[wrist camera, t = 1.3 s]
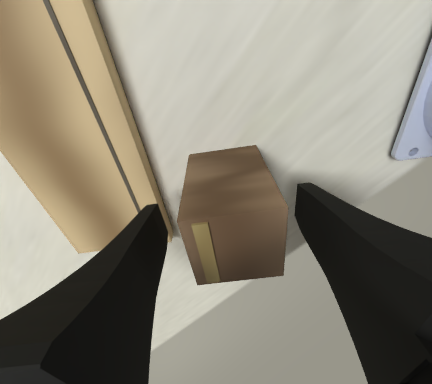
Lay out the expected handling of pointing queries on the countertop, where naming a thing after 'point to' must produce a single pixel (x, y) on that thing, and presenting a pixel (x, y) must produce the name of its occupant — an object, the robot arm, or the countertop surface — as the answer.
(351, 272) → the robot arm
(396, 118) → the countertop surface
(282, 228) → the block
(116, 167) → the oak board
